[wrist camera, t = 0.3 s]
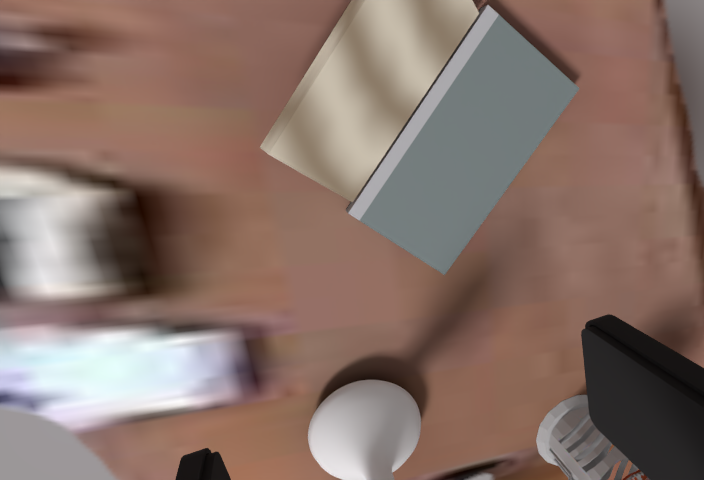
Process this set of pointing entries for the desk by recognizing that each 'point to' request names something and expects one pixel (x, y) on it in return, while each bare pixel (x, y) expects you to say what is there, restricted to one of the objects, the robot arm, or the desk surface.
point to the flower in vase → (365, 430)
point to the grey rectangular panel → (464, 142)
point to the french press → (580, 444)
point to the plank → (365, 88)
